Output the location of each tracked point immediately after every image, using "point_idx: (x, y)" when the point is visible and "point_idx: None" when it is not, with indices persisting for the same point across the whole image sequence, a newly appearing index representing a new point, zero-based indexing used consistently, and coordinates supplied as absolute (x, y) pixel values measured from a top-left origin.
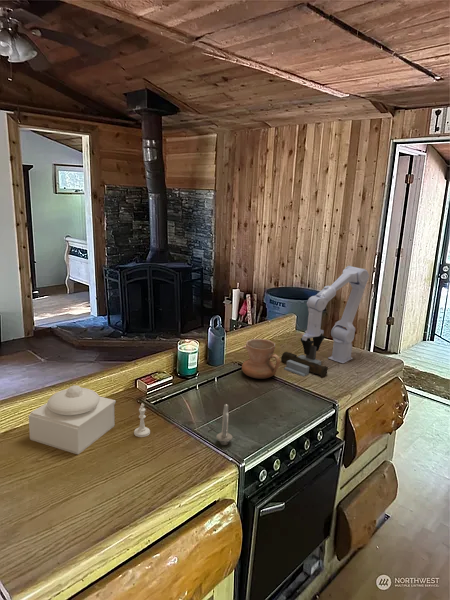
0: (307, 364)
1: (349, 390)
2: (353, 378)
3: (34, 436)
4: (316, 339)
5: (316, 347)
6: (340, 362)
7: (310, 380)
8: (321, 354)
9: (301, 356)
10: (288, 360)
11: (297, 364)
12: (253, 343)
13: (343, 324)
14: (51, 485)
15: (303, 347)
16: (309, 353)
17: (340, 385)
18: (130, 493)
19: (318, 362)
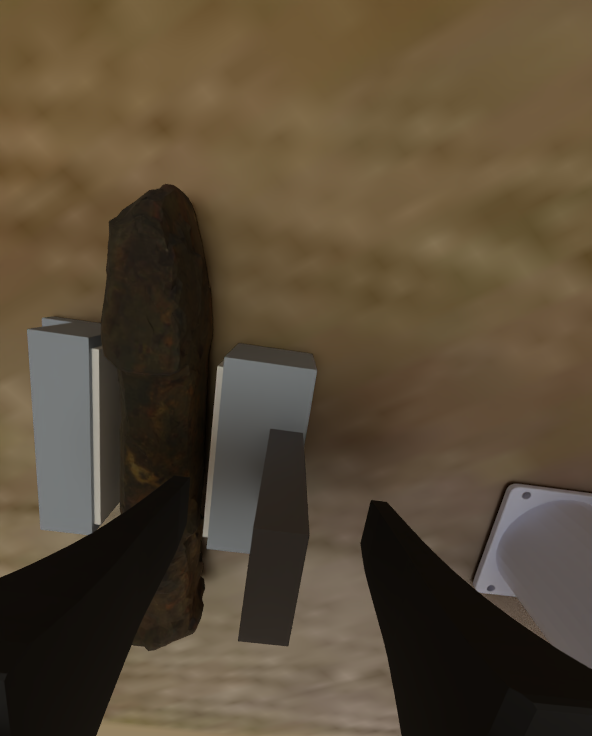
0: (120, 506)
1: (111, 711)
2: (278, 684)
3: None
4: (430, 694)
5: (283, 631)
6: (477, 572)
7: (49, 536)
8: (585, 407)
9: (262, 385)
10: (56, 334)
11: (44, 445)
12: None
13: None
14: None
15: (108, 523)
16: (179, 540)
17: (131, 668)
18: None
19: (238, 551)
